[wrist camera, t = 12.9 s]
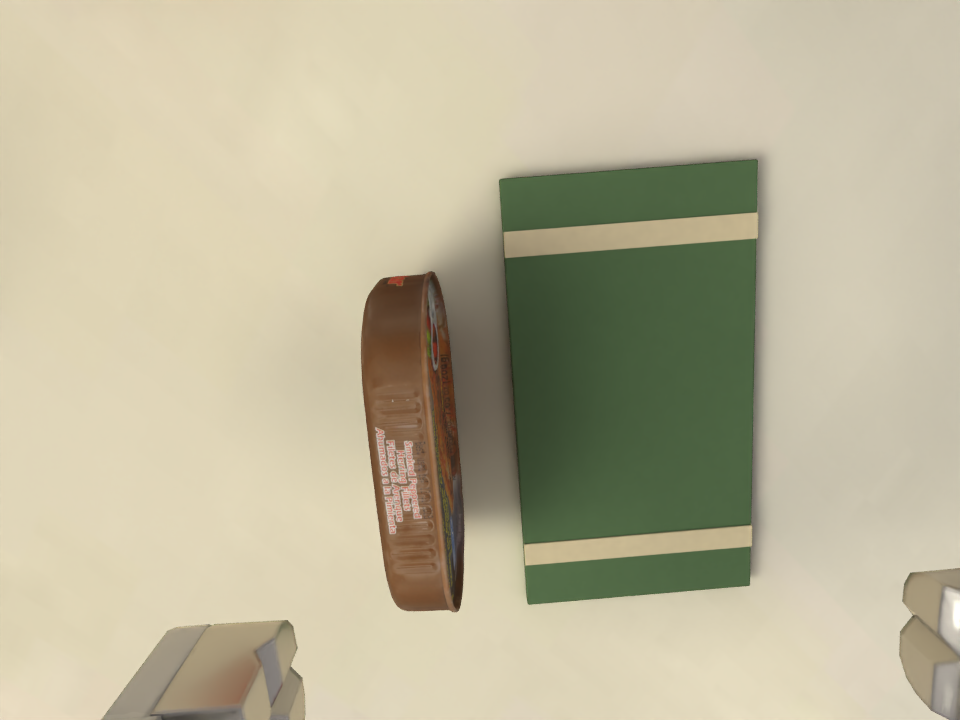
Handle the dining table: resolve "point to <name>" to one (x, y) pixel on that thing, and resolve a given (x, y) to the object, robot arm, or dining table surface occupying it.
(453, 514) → the tin
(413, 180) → the dining table surface
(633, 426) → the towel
